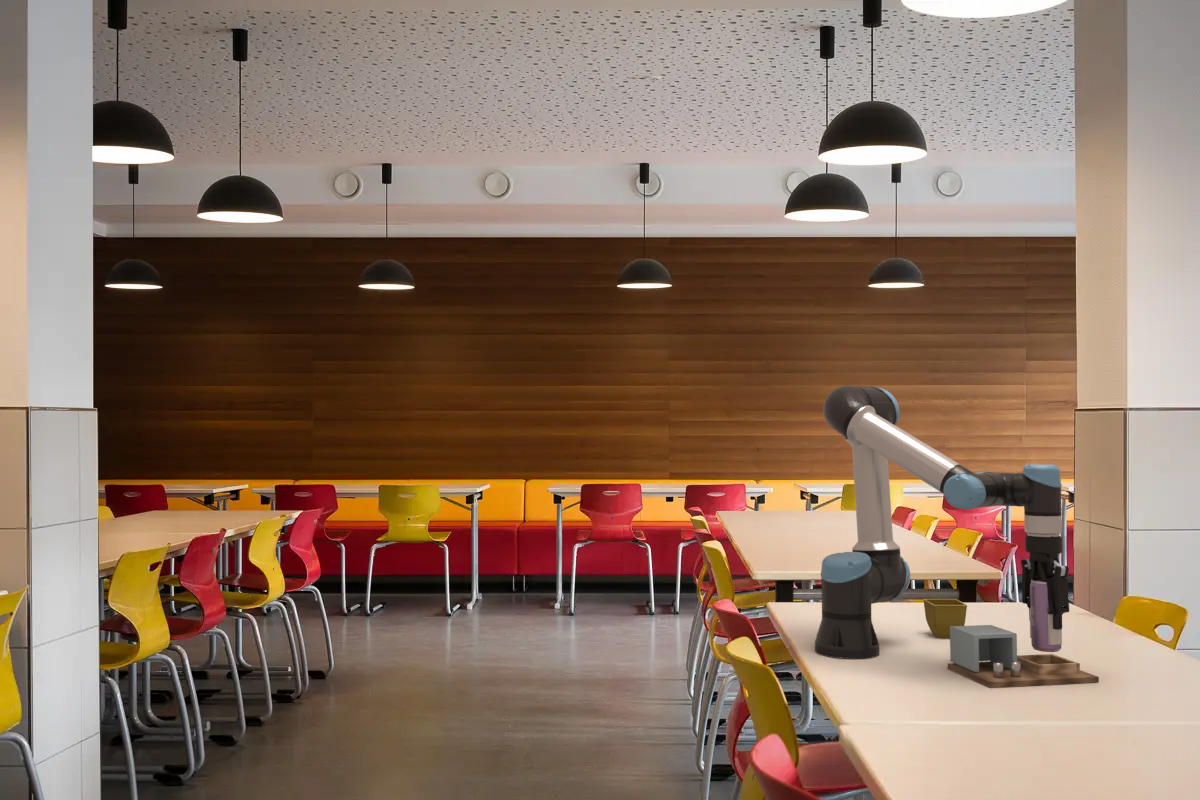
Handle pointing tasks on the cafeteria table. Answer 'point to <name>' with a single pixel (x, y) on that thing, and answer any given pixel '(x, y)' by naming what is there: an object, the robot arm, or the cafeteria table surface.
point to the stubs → (1014, 669)
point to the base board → (1030, 672)
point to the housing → (981, 645)
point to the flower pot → (944, 615)
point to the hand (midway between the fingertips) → (1045, 640)
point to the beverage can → (1040, 617)
